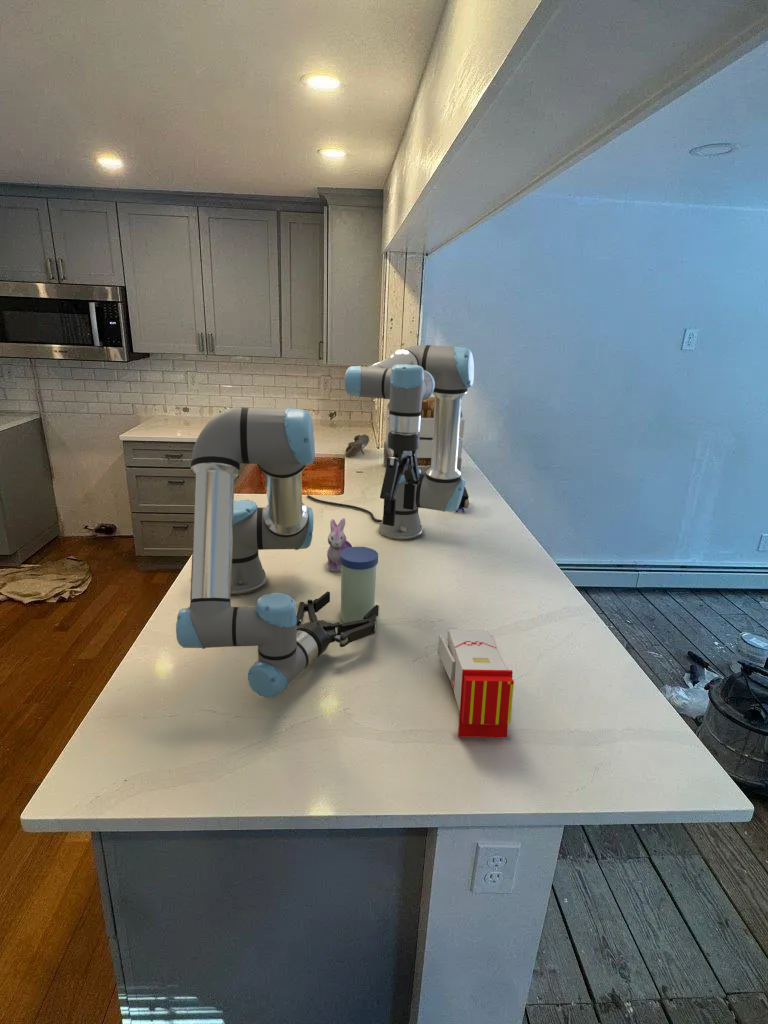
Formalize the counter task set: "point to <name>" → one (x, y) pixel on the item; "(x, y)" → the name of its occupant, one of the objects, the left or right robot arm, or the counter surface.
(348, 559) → the lid
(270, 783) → the counter surface
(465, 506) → the figurine character
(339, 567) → the figurine
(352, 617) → the jar
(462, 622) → the counter surface
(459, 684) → the toy
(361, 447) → the grey animal figure
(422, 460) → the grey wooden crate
